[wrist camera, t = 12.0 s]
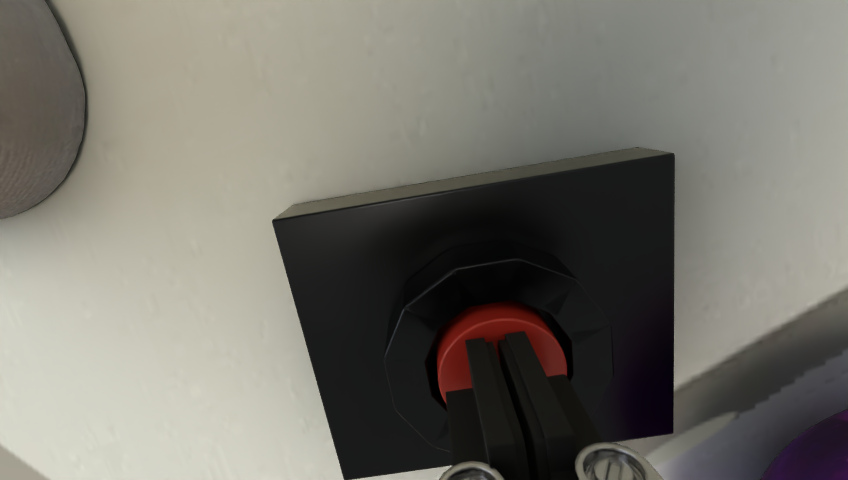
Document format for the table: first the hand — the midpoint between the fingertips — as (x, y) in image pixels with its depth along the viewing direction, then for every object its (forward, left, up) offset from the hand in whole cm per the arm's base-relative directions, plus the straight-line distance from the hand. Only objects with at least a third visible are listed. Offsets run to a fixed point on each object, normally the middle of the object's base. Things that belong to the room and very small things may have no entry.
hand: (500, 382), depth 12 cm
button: (0, 0, -2) cm, 2 cm away
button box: (0, 0, -4) cm, 5 cm away
